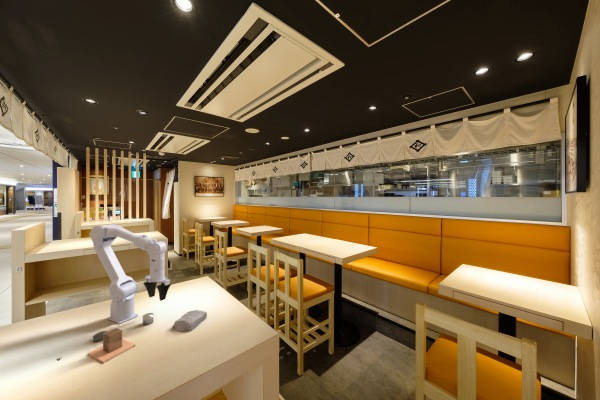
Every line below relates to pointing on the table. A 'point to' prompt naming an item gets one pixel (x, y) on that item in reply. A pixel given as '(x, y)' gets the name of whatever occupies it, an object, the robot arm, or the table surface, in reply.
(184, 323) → the stone block
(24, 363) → the table surface
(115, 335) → the walnut block
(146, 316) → the brushed metal tin
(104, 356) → the terracotta tile
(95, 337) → the black rubber puck
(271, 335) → the table surface
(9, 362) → the table surface
